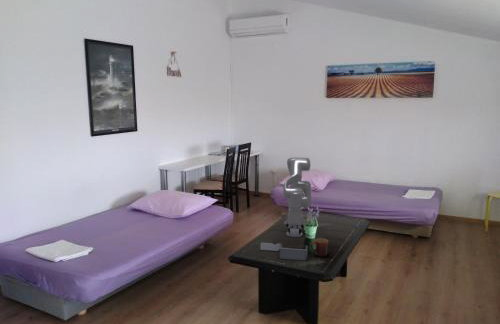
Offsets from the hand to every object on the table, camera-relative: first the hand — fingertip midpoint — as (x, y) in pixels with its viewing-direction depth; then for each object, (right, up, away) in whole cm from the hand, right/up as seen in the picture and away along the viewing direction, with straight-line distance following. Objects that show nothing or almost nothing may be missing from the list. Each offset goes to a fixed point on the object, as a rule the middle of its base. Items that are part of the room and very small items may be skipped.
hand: (294, 233), depth 276 cm
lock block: (0, -1, 0) cm, 1 cm away
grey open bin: (-2, -13, -11) cm, 17 cm away
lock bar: (-17, -12, -1) cm, 21 cm away
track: (-17, -12, -1) cm, 21 cm away
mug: (+15, -13, -9) cm, 22 cm away
